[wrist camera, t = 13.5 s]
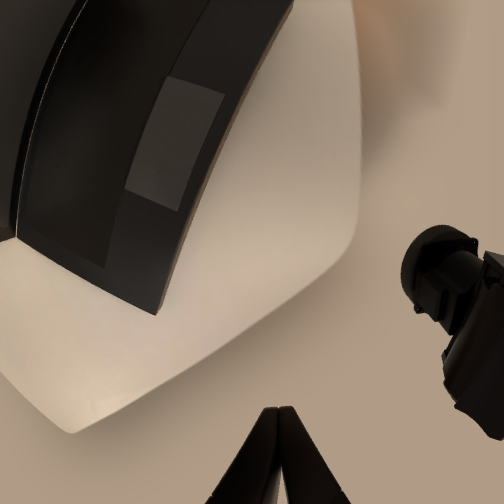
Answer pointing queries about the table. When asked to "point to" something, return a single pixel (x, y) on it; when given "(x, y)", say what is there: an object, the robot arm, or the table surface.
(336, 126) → the table surface
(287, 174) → the table surface
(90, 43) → the laptop
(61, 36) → the laptop screen
